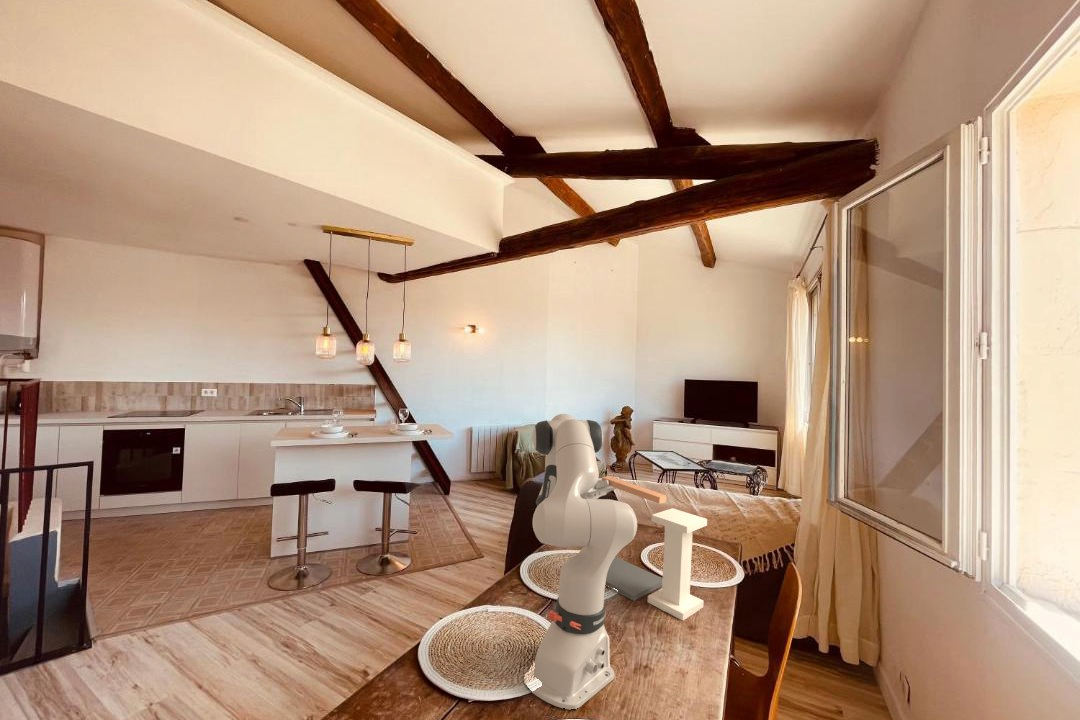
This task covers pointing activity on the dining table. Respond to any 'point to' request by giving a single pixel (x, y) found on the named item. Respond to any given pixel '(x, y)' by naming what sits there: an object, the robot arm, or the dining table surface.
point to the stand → (677, 563)
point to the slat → (636, 490)
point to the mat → (631, 579)
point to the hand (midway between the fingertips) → (613, 480)
